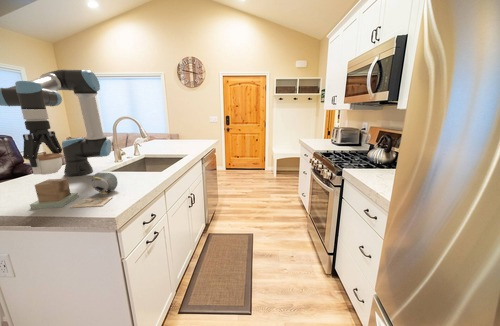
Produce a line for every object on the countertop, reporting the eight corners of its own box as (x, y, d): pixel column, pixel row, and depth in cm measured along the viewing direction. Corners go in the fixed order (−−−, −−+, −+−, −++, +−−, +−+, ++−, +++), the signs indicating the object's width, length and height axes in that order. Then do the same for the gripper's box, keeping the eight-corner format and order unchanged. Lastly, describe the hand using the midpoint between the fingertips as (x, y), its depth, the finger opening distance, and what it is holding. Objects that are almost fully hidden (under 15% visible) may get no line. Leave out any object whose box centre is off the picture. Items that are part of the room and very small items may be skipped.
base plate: (51, 197, 105) (50, 194, 104) (78, 196, 106) (77, 192, 106) (30, 208, 93) (29, 204, 93) (61, 207, 95) (60, 202, 94)
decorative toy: (97, 182, 118) (73, 189, 98) (107, 167, 118) (85, 170, 98) (116, 193, 120) (97, 202, 100) (126, 178, 120) (109, 183, 100)
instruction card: (83, 199, 103) (82, 198, 102) (112, 198, 104) (112, 197, 104) (70, 208, 94) (70, 206, 94) (102, 206, 96) (102, 205, 95)
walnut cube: (52, 195, 103) (48, 179, 101) (70, 194, 104) (67, 178, 102) (38, 202, 95) (34, 185, 93) (59, 201, 96) (55, 184, 94)
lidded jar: (51, 168, 102) (47, 149, 100) (71, 169, 101) (66, 150, 98) (25, 175, 92) (19, 154, 90) (46, 176, 90) (41, 154, 88)
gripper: (48, 119, 101) (58, 164, 107) (-1, 121, 79) (15, 178, 84) (65, 119, 102) (74, 163, 108) (22, 121, 80) (36, 178, 85)
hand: (48, 170), depth 96 cm, fingers closed on lidded jar, 11 cm apart
